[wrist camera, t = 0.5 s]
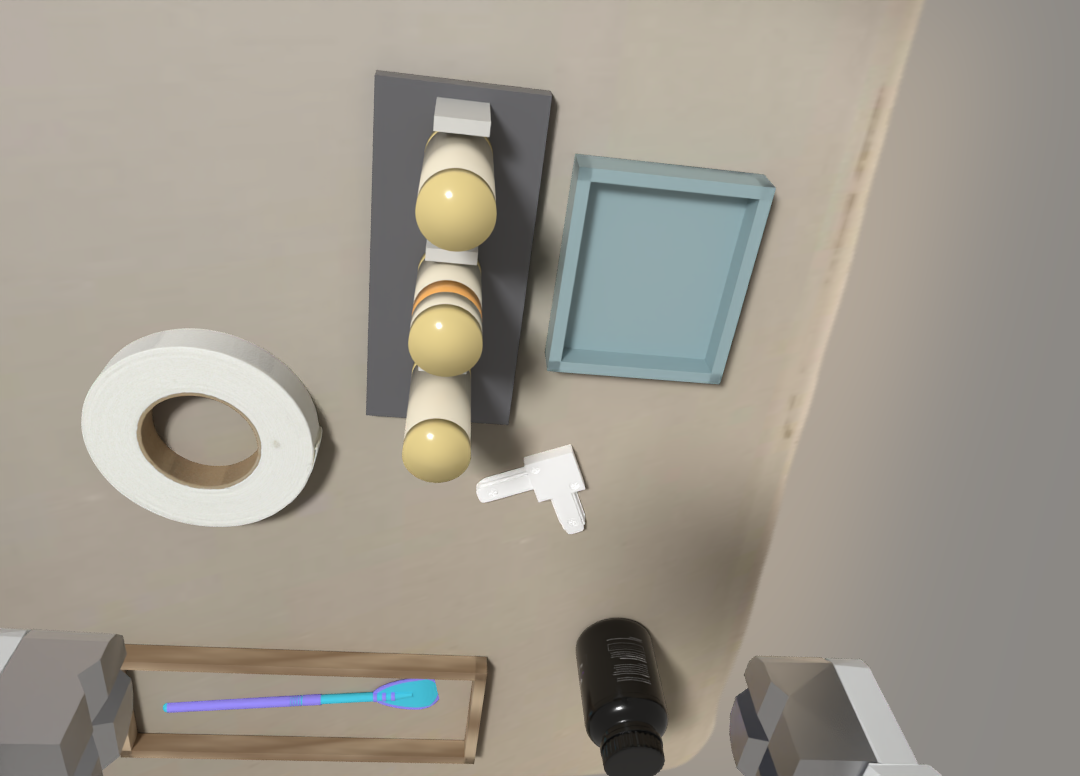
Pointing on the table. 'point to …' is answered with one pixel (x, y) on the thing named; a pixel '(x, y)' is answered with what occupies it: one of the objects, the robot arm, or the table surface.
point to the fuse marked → (446, 318)
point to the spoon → (329, 698)
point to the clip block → (398, 245)
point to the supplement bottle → (622, 696)
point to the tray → (654, 268)
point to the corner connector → (543, 484)
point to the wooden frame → (312, 666)
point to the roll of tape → (217, 373)
